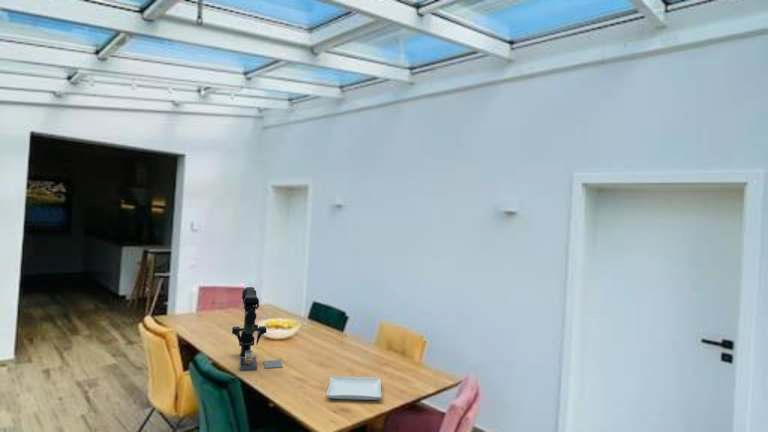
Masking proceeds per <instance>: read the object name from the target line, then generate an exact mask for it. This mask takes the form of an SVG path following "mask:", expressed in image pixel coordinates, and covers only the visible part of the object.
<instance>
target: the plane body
mask: <svg viewBox="0 0 768 432" xmlns="http://www.w3.org/2000/svg"><path fill="white" fill-rule="evenodd" d="M239 369H240V371H241V372H243V371H257V370H258V362H257V357H256V356H253V360H252V358H247V360H246V362H245V357H240V358H239Z"/></svg>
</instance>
